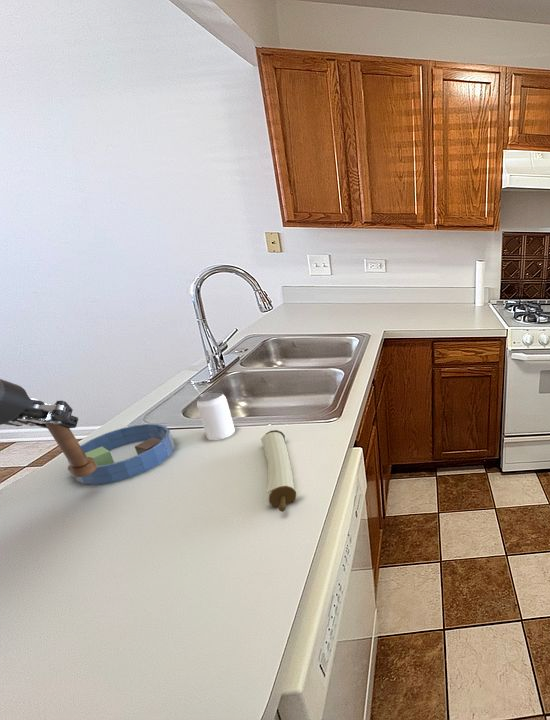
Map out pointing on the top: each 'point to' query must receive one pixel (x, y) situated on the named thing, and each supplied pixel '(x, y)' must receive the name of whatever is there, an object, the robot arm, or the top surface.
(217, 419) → the can
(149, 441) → the block walnut
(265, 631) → the top surface
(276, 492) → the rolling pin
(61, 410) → the robot arm
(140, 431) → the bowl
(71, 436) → the brown wooden rod
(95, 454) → the block sage
